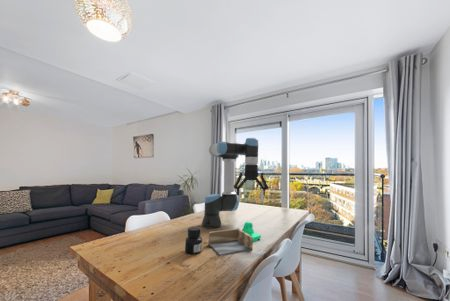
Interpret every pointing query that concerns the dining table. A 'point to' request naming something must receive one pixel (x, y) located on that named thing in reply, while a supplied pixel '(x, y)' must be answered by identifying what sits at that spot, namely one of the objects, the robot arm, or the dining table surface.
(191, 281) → the dining table surface
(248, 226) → the camera mount
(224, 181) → the robot arm
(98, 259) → the dining table surface
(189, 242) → the ink bottle
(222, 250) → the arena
